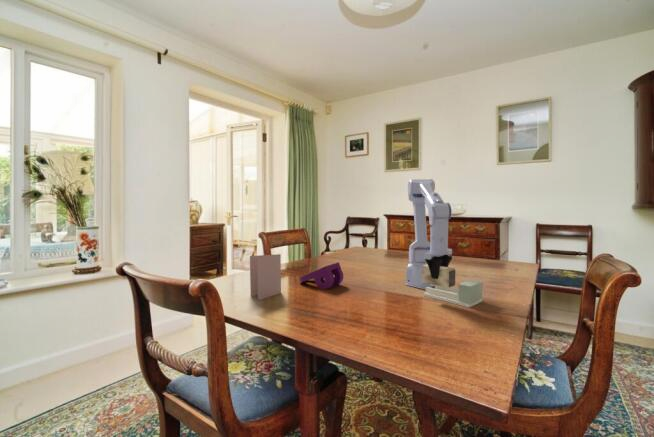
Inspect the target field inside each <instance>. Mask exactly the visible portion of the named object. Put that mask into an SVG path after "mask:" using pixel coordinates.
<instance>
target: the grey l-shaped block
mask: <svg viewBox="0 0 654 437" xmlns="http://www.w3.org/2000/svg"><path fill="white" fill-rule="evenodd" d="M423 297H427V298H431V299H434V300H438V301H442V302H445V303H449V304H454V305H458V306H463V307H466V308H471V307H473V306H475V305H477V304H479V303H482V302H483V281H481V280H477V279H476V280H475V279H469V280H465V281H463V282H460V283H458V287H455V286H453V287H450V288H446V287H441V286H437V285H435V286H434V288H433V287H426V289H425V292H424V293H423Z"/></svg>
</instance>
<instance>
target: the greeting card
mask: <svg viewBox="0 0 654 437" xmlns="http://www.w3.org/2000/svg"><path fill="white" fill-rule="evenodd" d="M281 255H282V254H281V253H278V254H277V253H276V254H261V255H250V256H249V280H250V282H249V283H250V296H251V297H252V296H253V295H254V296H257V301H261V300H263V299H267V298H269V297H273V296H275V295H279V294H281V293H282V274H281V272H282V268H281V266H282V265H281V263H282V262H281V260H282V258H281ZM254 296H253V297H254Z"/></svg>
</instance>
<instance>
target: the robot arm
mask: <svg viewBox="0 0 654 437" xmlns="http://www.w3.org/2000/svg"><path fill="white" fill-rule="evenodd" d="M435 189H436V183H435V181H434V179H432V178H430V179H425V178H424V179H413V178H411V179H409V181H408V183H407V195H408V196H407V197H408V200H409V201H410V202H411V203H412V207H413V218H414V219H413V221H414V222H413V223H414V236H415V238H414V240H415V241H413V242H412V243H411V244H409V247H408V261H409V263H408V265H407V266H406V270H405V271H406V273H405V274H406V275H405V276H406V277H405V284H404V285H405V286H408V287H414V288H417V289H421V290H426V287H430V288H433V287H435V285H432V284H428V283H424V282H422V265H426V264H428V266H429V270H430V273H431V278H434V279H438V276H439V269H440V266H444V267H449V265H450V263H451V261H452V260H453V256H452V255H453V249H452V248H449V220H450V219H451V218H452V212H453V211H452V205H451V203H449V202H444V200H443V199H442V197H441V195H440V194H439V193H438V192H436V191H435ZM426 207H427V210H428V212H427V214H428V219H429V220H428V223H429V226H430V232H429V234H430V237H429V238H430V239H429V240H428V230H427V229H428V228H427V214H426Z"/></svg>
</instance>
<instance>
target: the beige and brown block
mask: <svg viewBox="0 0 654 437" xmlns="http://www.w3.org/2000/svg"><path fill="white" fill-rule="evenodd" d="M422 282H424V283H428V284H432V285H437V286H441V287H446V288H450V287H455V285H456V268H454V267H449V266H448V267H444V266H440V269H439V276H438V279H434V278H431V273H430V270H429V266H428V264H426V265H422Z"/></svg>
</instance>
